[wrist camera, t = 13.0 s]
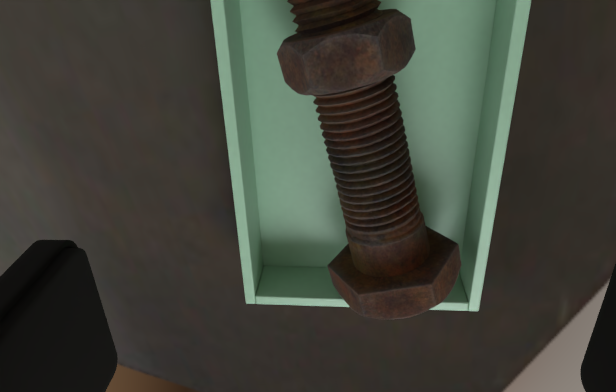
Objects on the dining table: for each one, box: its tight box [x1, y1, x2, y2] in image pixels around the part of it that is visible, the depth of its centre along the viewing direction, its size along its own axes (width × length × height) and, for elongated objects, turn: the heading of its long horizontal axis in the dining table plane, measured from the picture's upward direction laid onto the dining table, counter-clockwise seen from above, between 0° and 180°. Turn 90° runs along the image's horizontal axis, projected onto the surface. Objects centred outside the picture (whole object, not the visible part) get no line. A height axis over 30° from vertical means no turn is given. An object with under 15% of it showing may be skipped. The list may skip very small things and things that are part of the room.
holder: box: [210, 0, 531, 311], centre depth 20 cm, size 11×18×3 cm, turn 1°
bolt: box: [277, 0, 462, 320], centre depth 19 cm, size 6×5×15 cm
